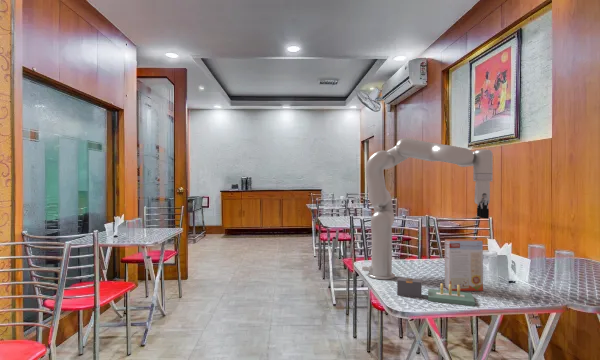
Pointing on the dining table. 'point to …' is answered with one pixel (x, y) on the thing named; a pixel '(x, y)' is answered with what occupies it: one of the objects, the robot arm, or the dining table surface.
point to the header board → (451, 296)
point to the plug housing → (409, 287)
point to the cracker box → (464, 264)
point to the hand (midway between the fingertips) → (482, 217)
